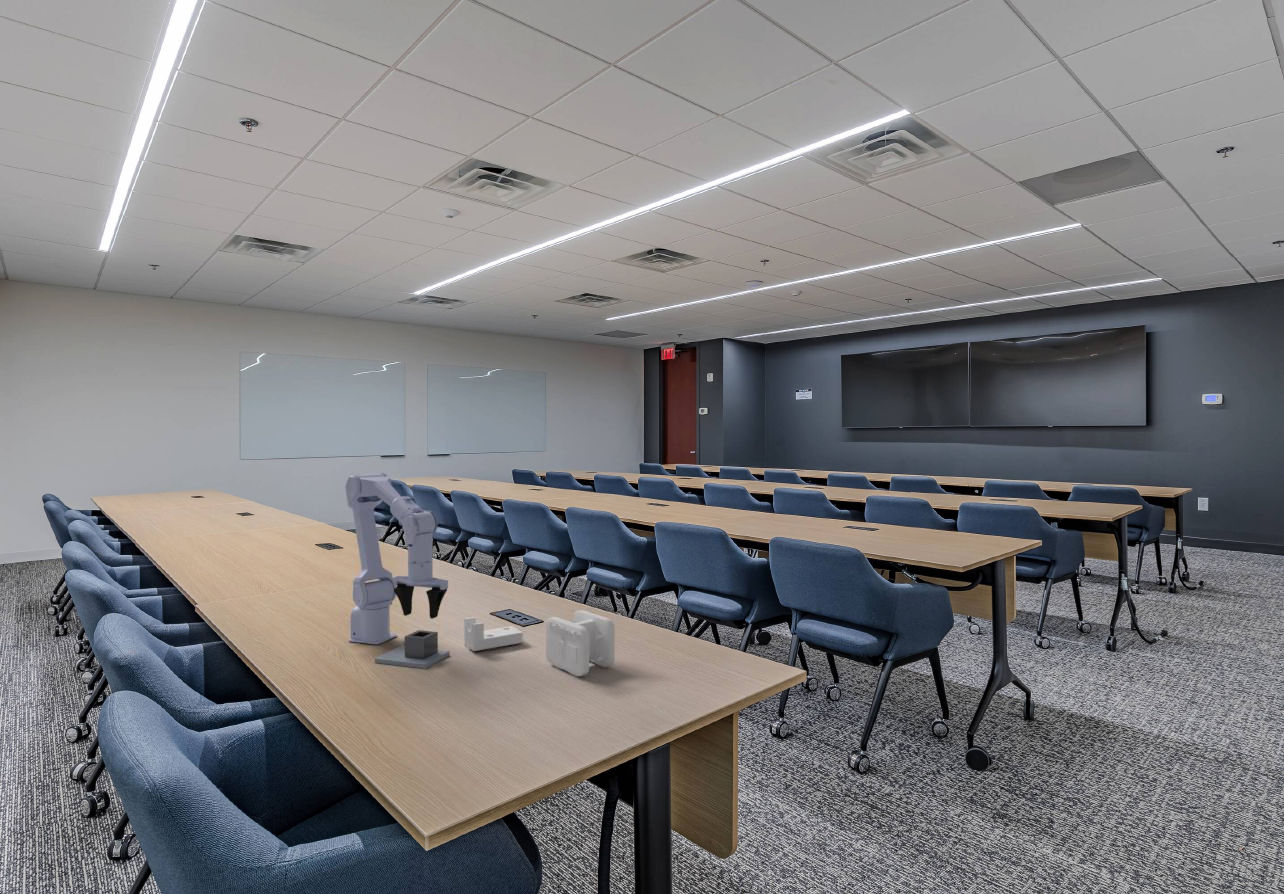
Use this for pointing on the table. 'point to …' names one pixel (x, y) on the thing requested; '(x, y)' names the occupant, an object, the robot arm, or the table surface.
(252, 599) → the table surface
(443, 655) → the plate with peg
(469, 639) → the bracket
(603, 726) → the table surface
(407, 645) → the dark grey hollow block
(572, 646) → the cable organizer
